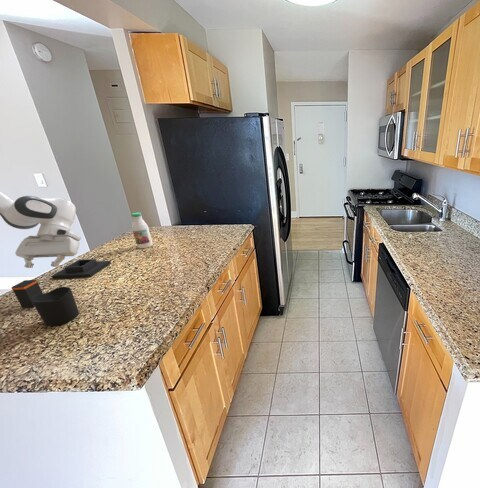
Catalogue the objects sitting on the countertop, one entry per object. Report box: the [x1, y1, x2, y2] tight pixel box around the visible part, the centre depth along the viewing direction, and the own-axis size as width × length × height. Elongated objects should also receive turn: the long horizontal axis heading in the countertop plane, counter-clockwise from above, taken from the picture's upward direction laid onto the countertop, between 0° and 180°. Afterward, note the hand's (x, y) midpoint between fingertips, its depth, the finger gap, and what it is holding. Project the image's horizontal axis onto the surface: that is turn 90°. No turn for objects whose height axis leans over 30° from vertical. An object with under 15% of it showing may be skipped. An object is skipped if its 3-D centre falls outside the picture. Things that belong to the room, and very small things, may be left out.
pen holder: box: [31, 286, 80, 327], centre depth 89 cm, size 9×9×10 cm
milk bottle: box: [130, 212, 154, 249], centre depth 148 cm, size 8×8×20 cm
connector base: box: [51, 258, 112, 280], centre depth 123 cm, size 16×14×4 cm
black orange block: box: [10, 279, 44, 309], centre depth 97 cm, size 4×5×9 cm
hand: (41, 266), depth 102 cm, fingers open, 8 cm apart
